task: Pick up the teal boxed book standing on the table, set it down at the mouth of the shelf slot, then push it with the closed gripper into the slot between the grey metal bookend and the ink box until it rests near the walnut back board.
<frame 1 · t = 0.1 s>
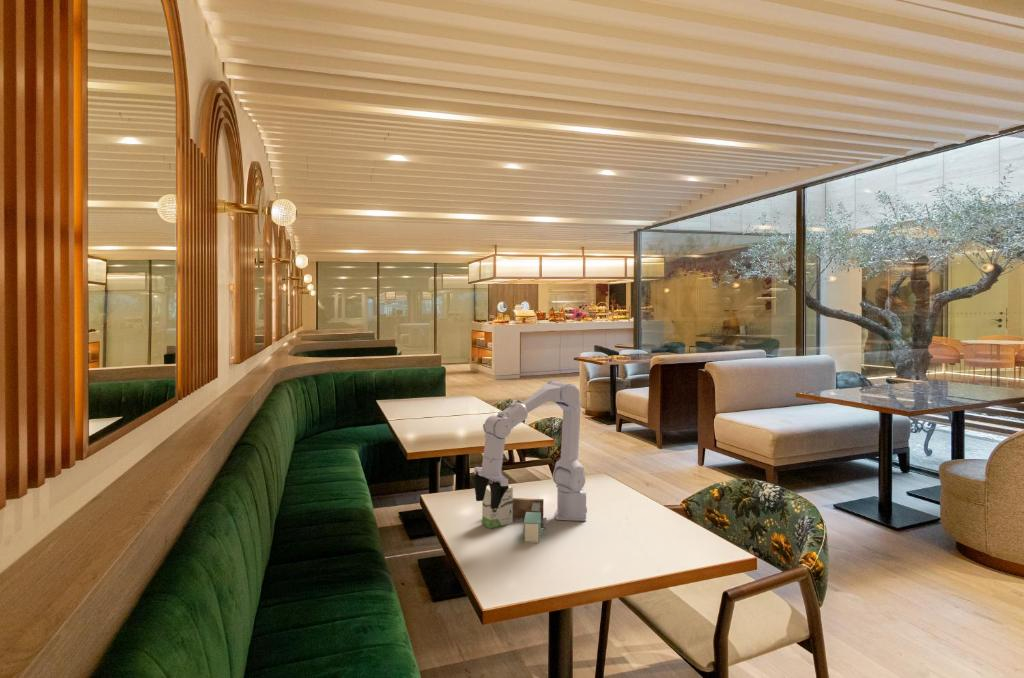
hand: (486, 504, 168), 10 cm above the table, tool pointing down, fingers open, 7 cm apart
book: (532, 537, 171), on the table
bookend: (535, 523, 181), on the table
ink box: (497, 524, 181), on the table
back board: (516, 517, 186), on the table
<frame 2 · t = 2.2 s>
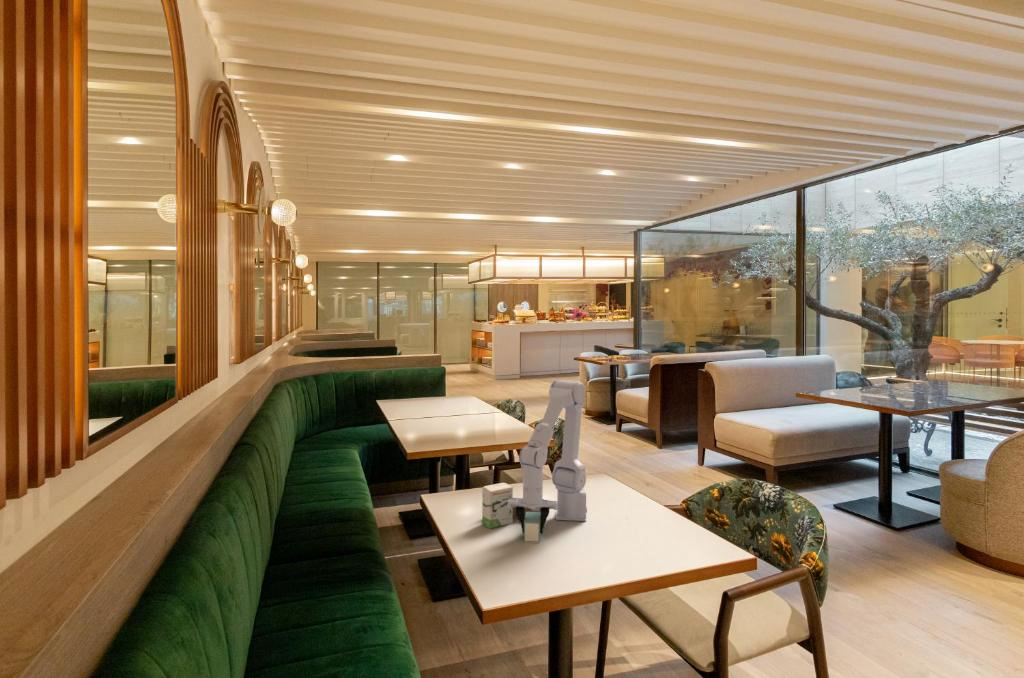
hand: (532, 532, 171), 1 cm above the table, tool pointing down, fingers closed on book, 4 cm apart
book: (532, 536, 171), on the table, touching gripper
everything else where it was.
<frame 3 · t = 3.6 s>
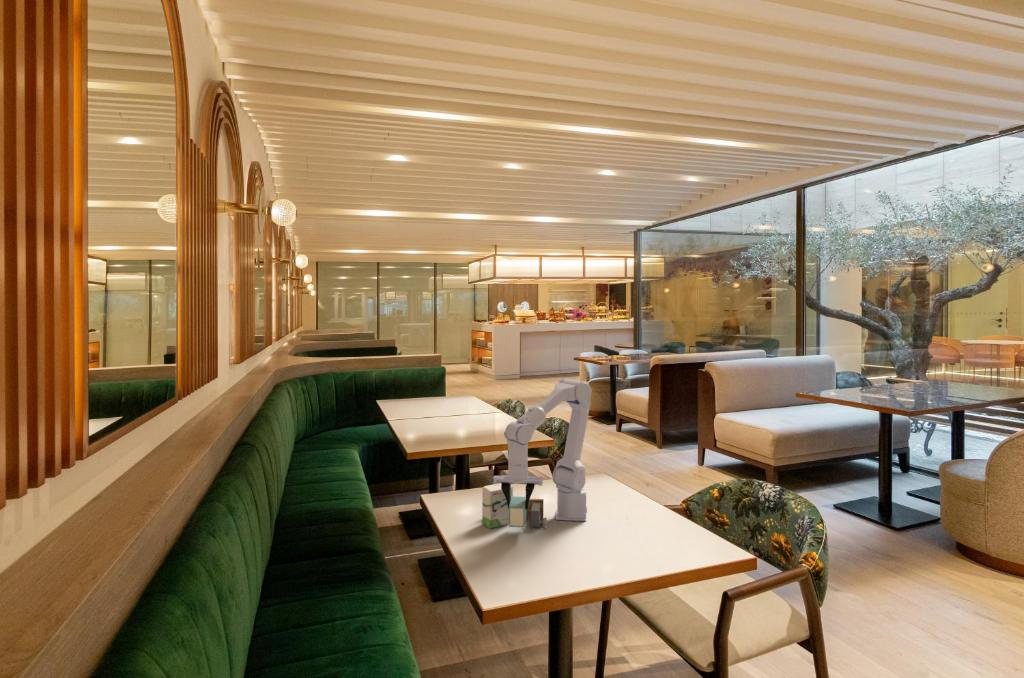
hand: (518, 507, 173), 8 cm above the table, tool pointing down, fingers closed on book, 4 cm apart
book: (517, 521, 173), point 4 cm above the table, touching gripper
everything else where it was.
when the fingers open (3 cm above the table, at t = 4.9 s): book stays where it is, on the table.
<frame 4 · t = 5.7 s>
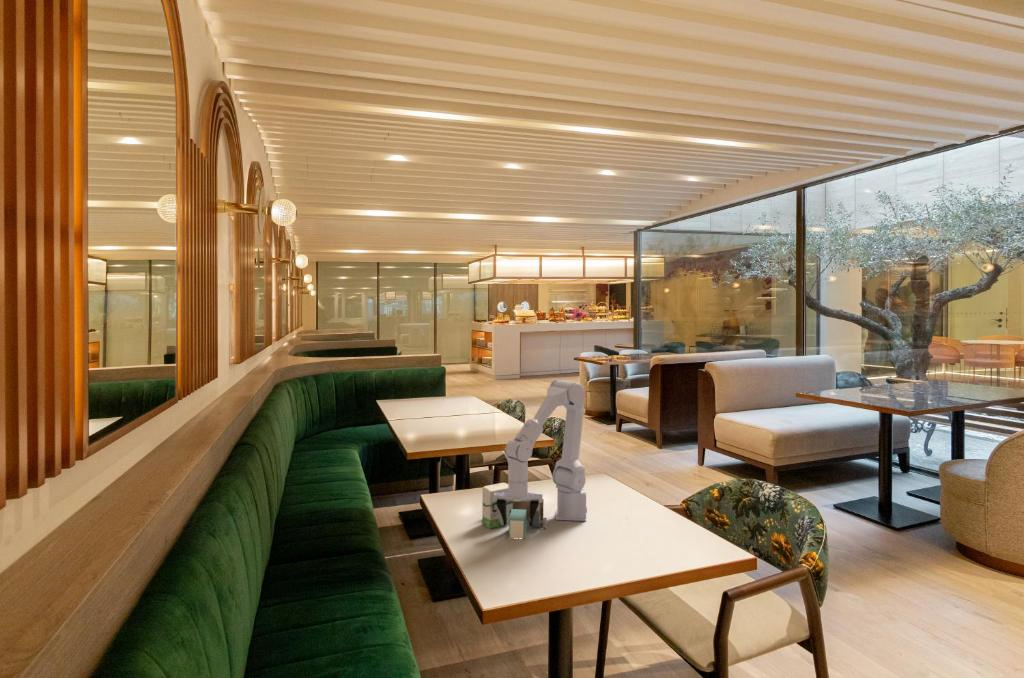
hand: (517, 524, 174), 3 cm above the table, tool pointing down, fingers open, 7 cm apart
book: (517, 533, 174), on the table
everything else where it was.
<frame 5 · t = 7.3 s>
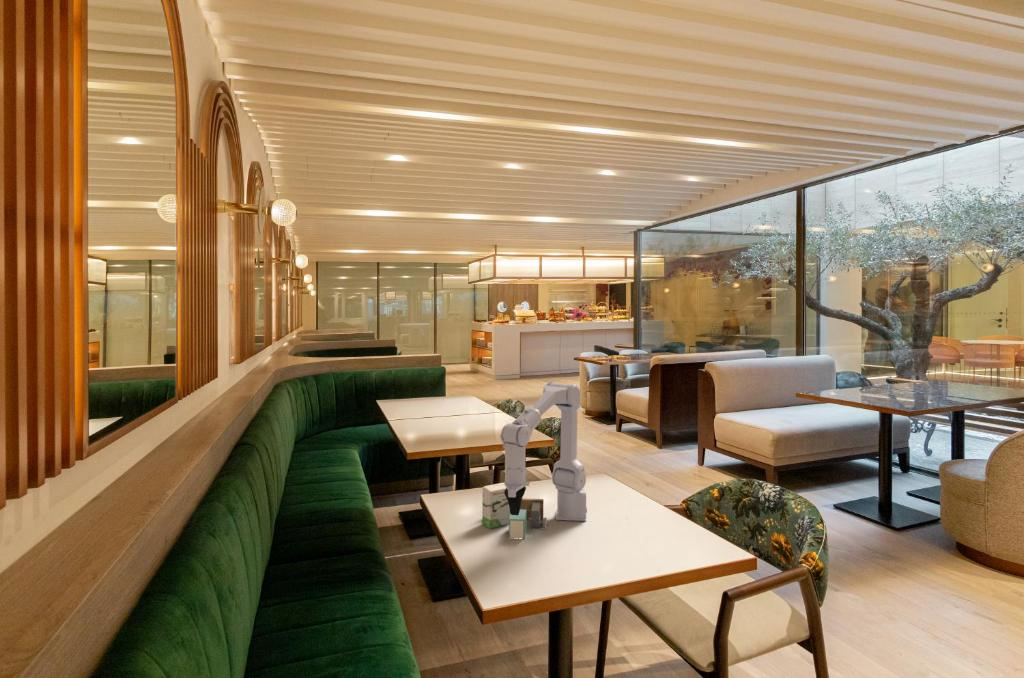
hand: (515, 513, 164), 9 cm above the table, tool pointing down, fingers closed
nothing on the table moved.
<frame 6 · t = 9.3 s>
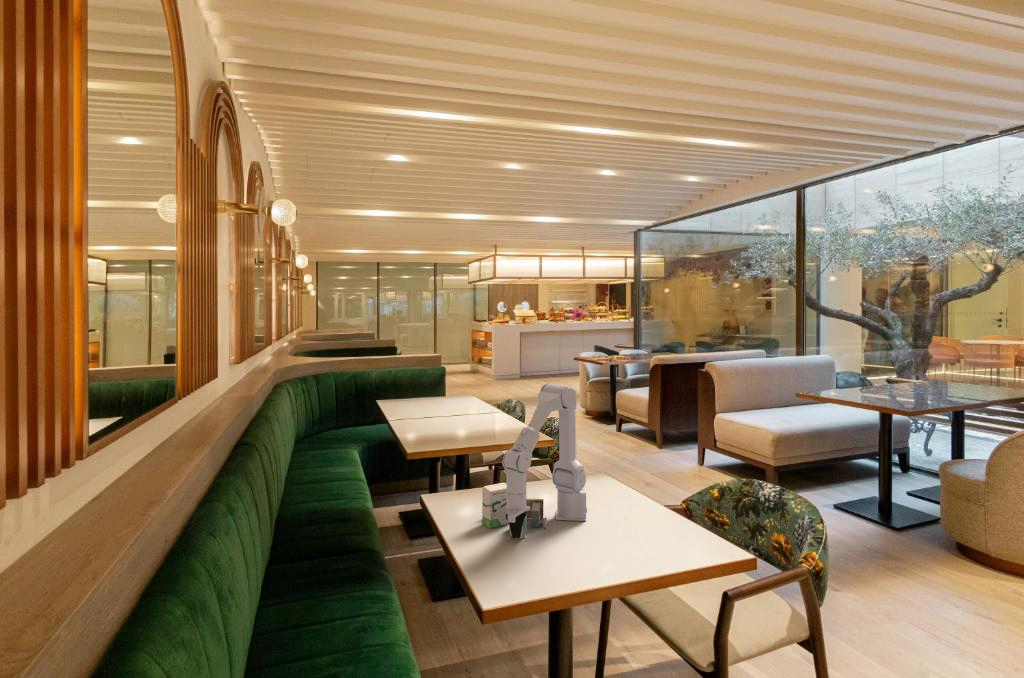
hand: (516, 537, 168), 1 cm above the table, tool pointing down, fingers closed
book: (518, 532, 174), on the table, touching gripper
everything else where it was.
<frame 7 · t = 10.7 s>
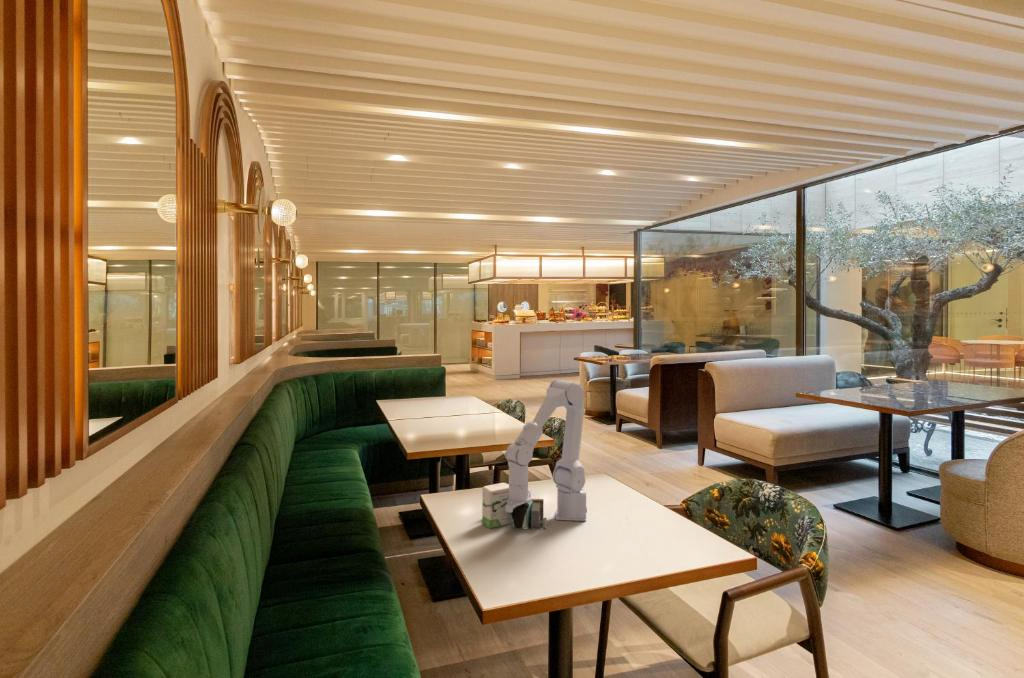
hand: (518, 527, 175), 1 cm above the table, tool pointing down, fingers closed
book: (522, 523, 181), on the table, touching back board, gripper
everything else where it was.
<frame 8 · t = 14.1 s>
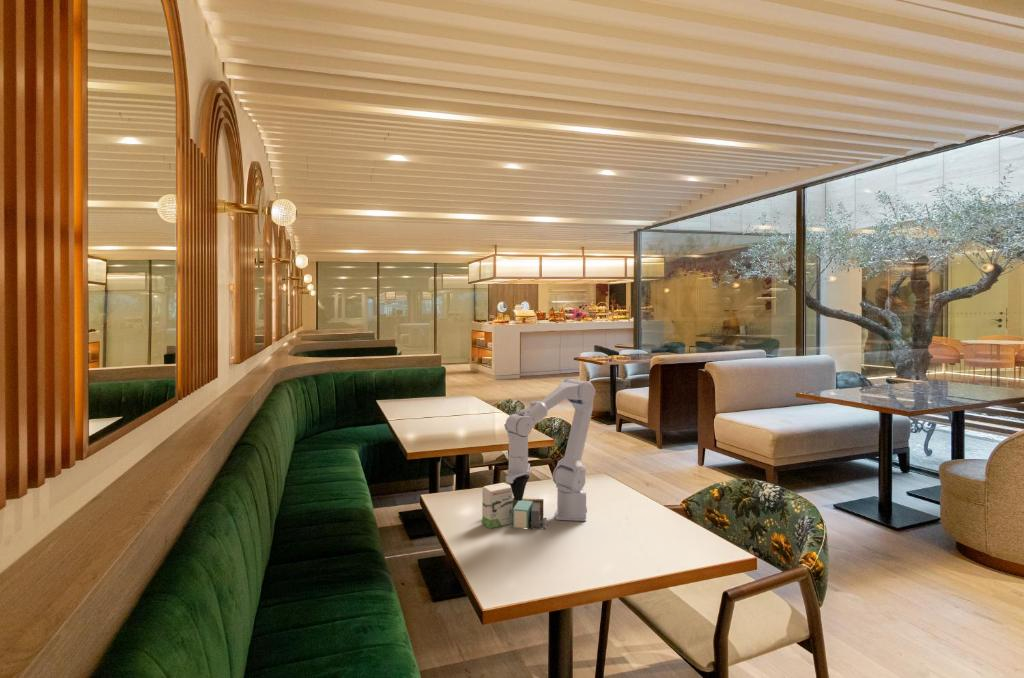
hand: (518, 499, 174), 10 cm above the table, tool pointing down, fingers closed
book: (523, 523, 181), on the table
everything else where it was.
at the end: book 1.1 cm from the target spot, on the table; book tilted 0°; the gripper is holding nothing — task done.
